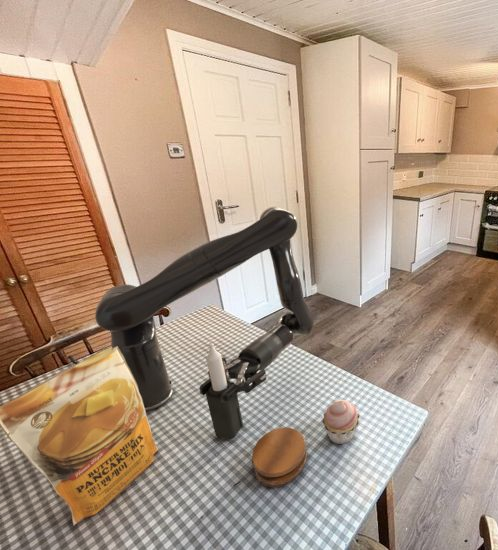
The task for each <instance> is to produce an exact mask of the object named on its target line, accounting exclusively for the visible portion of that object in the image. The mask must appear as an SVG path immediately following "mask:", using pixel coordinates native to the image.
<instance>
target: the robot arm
mask: <svg viewBox="0 0 498 550" xmlns="http://www.w3.org/2000/svg"><path fill="white" fill-rule="evenodd" d="M297 230H298V220H297V218H296V216H295V215H294V214H293V213H292V212H291V211H289V210H287V209H285V208H283V207H280V206H269V207H268V208H266V209H264V210H263V211H262V213H261V214H260V216H259V219H258V220H257V221H255V222H253V223H251V224H250V225H249V226H247V227H245V228H243V229H242V230H239V231H236V232H234V233H230V234H228V235H224V236H221V237H218V238H215V239H212V240H209V241H207V242H204V243H203V244H201V245H198V246H197V247H195V248H193V249H191V250H189V251H187V252H185V253H184V254H182V255H180V256H179V257H178V258H176V259H175V260H174V261H172V262H171V263H170V264H169V265H167V266H166V267H165V268H164V269H162V271H160V272H158V274H157V275H155V276H154V277H152V278H150V279H149V280H147V281H146V282H143V283H141V284H139V285H138V286H136V285H134V284H133V285H132V284H118V285H115V286H112V287H111V288H109V289H108V290H107V291H106V292H105V293H104V294H103V296H102V297H101V299H100V300H99V302H98V304H97V306H96V309H95V313H94V318H95V319H94V320H95V322H96V324H97V325H98V326H99V327H100V328H101V329H102V330H105V331H107V332H110V346H111V348H114V347H117V346H118V348H119V349H120V351H121V353H122V354H123V356H124V358H125V360H126V363H127V365H128V367H129V369H130V370H131V373H132V375H133V377H134V379H135V381H136V383H137V385H138V389H139V393H140V395H141V397H142V401H143V404H144V408H145V411H146V412H149V411H153V410H155V409H157V408H159V407H161V406H163V405H165V404H166V403H167V402H168V401H169V400H170V399H171V398H172V397H173V395H174V389H173V387H172V380H171V379H170V377H169V374H168V371H167V367H166V363H165V359H164V356H163V352H162V350H161V346H160V342H159V340H158V336H157V328H156V322H155V319H154V315H155V314H157V313H159V312H160V311H161V310H163V309H164V308H166V307H167V306H169V305H171V304H172V303H174V302H176V301H178V300H179V299H182V298H184V297H185V296H188V295H190V294H191V293H193V292H195V291H196V290H197V291H198V290H199V289H200V288H202V287H204V286H206V285H208V284H210V283H212V282H214V281H215V280H217V279H219V278H221V277H222V276H224V275H226V274H228V273H229V272H231V271H232V270H234V269H236V268H238V267H239V266H241V265H243V264H244V263H246V262H247V261H249V260H251V259H252V258H254V257H255V256H257V255H259V254H261V253H263V252H265V251H267V250H268V251H269V254H270V257H271V262H272V266H273V271H274V275H275V276H274V277H275V282H276V286H277V293H278V296H279V301H280V304H281V306H282V307H283V308H284V309H286V310H288V311H285V312H283V313H282V314H281V315H280V316H279V318H278V319H277V320H276V322H275V324H274V325H273V327H272V328H270V329H269V330H268V331H266V332H265V333H264V334H262V335H260V336H258V337H257V338H255V340H254V341H252V342H251V343H249V344H248V345H246V347H244V348H243V349H242V350H241V351H240V352H239V355H238V356H237V357H236V358H233V359H232V360H227V358H226V357H222V362H223V367H224V372H225V376H226V380H229V381H230V380H235V382H234V383H235V385H234V384H232V385H231V386H230V387H229V388H228V389H227V390H225V391H224V392H223V393H222V394H221V396H220V398H221V402H223V403H226V402H227V401H229V400H231V399H232V398H233V397H234V396H235V395H236V394H237V395H238V394H239V393H242V392H244V393H245V394H249V393H250V392H252V391H253V390H254V389H256V388H257V387H258V386H260V385H262V383H264V382H265V381H266V380H267V371H266V368H268V367H269V366H270V365H271V364H273V362H274V361H275V360H276V359H277V358H278V357H279V356H280V354H281V353H282V352H284V351H285V350H286V349H287V348H288V347H289V346H290V345H291V343H292V342H293V341H294V335H299V336H307V335H309V334H311V332H312V331H313V329H314V324H315V323H314V322H315V321H314V316H313V313H312V311H311V309H310V308H309V305H308V303H307V301H306V299H305V298H304V291H303V286H302V281H301V277H300V274H299V271H298V268H297V265H296V262H295V257H294V255H293V251H292V250H293V249H292V245H291V239H292V238H293V237H294V236H295V235H296V233H297ZM67 359H68V360H70V362H71V363H72V364H74V365H76V364H78V363H79V362H80V361H76V360H75V358H74V357H73V355H70V354H69V355H68V356H67ZM75 361H76V362H75ZM207 373H208V379H206V380H205V381H204V382H202V383H201V384H200V386H199V387H198V388H199V389H198V390H199V393H200V395H202V396H206V392H207V391H208V390H209V388H210V386H212V382H211V378H210V373H209V370H208V371H207Z"/></svg>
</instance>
